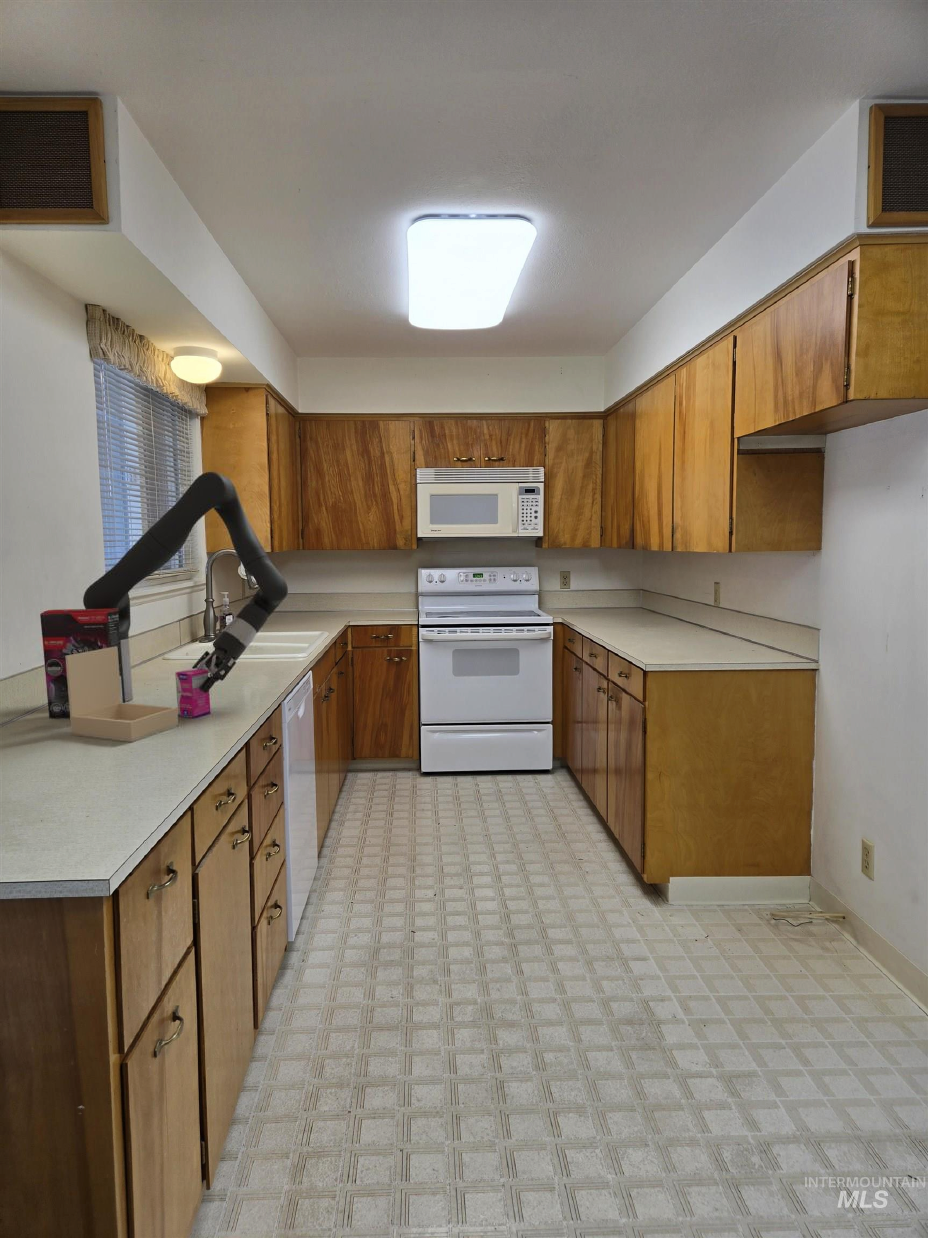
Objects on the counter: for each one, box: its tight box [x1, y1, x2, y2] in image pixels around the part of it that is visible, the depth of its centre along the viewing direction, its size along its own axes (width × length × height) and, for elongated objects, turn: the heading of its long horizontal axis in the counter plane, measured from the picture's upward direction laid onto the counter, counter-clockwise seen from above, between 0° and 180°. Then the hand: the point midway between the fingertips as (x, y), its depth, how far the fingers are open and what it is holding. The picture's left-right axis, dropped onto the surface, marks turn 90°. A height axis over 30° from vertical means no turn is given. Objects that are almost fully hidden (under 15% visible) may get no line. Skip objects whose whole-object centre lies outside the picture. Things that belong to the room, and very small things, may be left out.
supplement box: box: [174, 667, 212, 719], centre depth 178 cm, size 6×6×12 cm
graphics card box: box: [39, 608, 126, 719], centre depth 178 cm, size 17×7×27 cm, turn 91°
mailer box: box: [65, 647, 179, 743], centre depth 164 cm, size 18×14×18 cm
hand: (195, 688), depth 178 cm, fingers open, 8 cm apart
